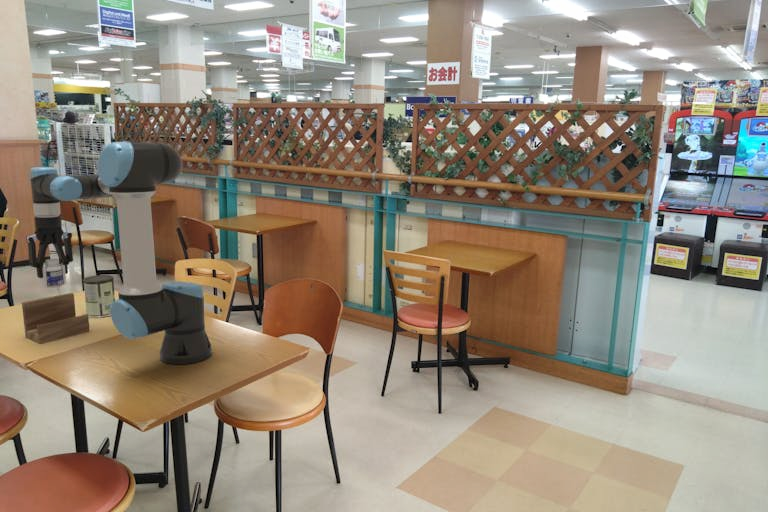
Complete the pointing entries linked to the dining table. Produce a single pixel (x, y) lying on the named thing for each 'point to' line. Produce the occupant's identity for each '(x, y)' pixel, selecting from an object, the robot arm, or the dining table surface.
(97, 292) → the coffee can
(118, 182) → the robot arm
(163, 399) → the dining table surface
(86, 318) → the wooden display stand
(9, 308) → the dining table surface
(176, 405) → the dining table surface
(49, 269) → the pill bottle
